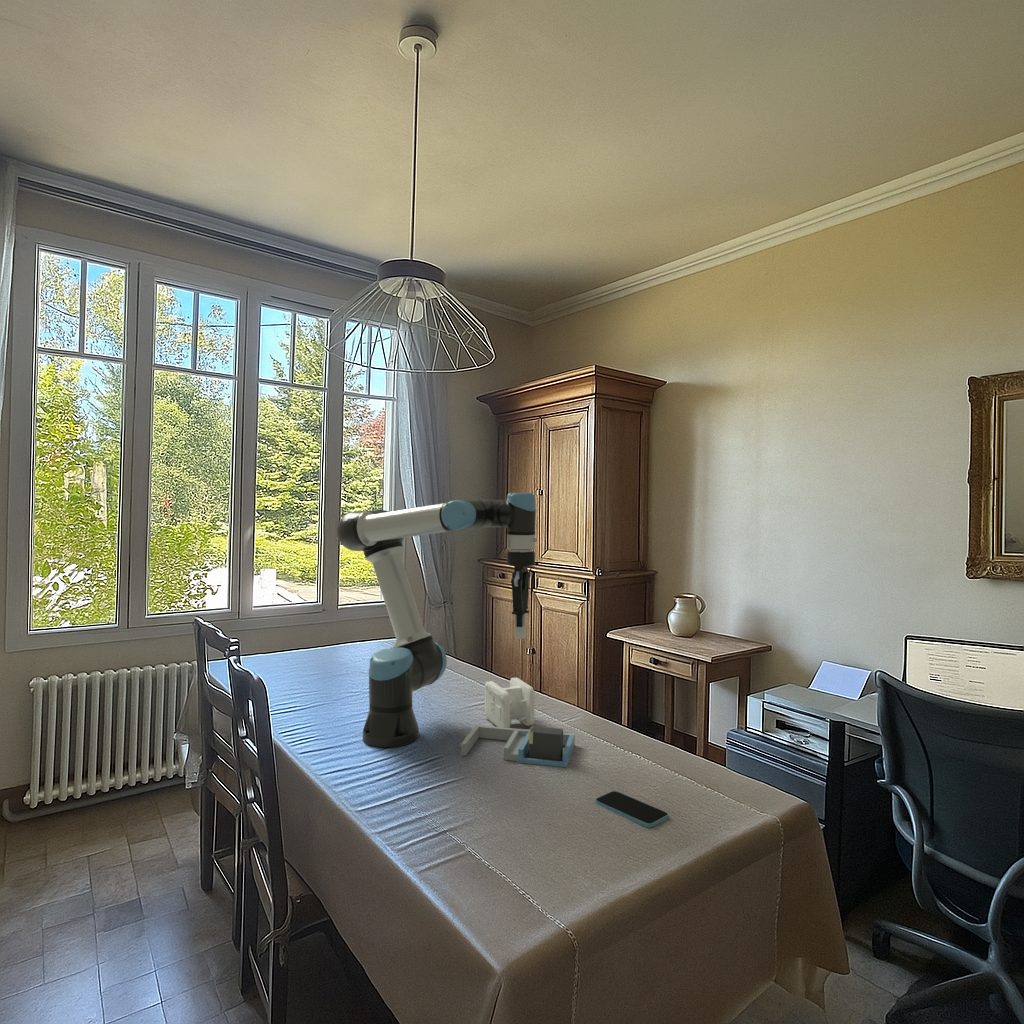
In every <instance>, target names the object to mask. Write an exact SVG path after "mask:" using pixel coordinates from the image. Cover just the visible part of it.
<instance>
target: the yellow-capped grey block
mask: <svg viewBox="0 0 1024 1024" xmlns="http://www.w3.org/2000/svg"><path fill="white" fill-rule="evenodd" d="M529 730H530V731H529V751H528V758H532V759H542V760H552V761H563V751H564V746H563V733H564V728H558V727H557V728H556V727H555V728H553V727H546V726H545V727H543V726H534V725H531V727H530V729H529Z"/></svg>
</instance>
